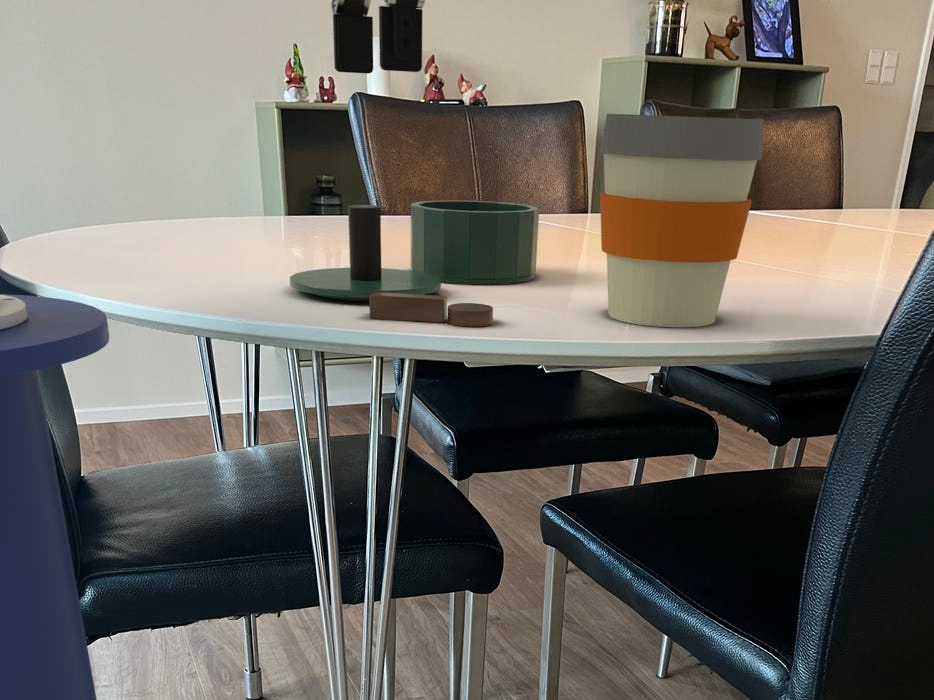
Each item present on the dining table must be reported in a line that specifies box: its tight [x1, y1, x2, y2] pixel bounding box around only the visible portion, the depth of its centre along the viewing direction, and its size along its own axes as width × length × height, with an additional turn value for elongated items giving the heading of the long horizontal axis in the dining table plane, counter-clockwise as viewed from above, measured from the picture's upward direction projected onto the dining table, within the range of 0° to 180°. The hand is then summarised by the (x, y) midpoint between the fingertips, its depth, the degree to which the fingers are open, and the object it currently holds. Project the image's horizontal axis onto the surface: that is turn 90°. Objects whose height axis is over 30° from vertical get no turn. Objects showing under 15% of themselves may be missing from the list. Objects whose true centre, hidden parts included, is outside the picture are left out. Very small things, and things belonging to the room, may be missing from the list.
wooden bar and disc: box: [369, 292, 494, 328], centre depth 79 cm, size 10×4×2 cm, turn 82°
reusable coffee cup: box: [599, 113, 764, 328], centre depth 80 cm, size 13×12×15 cm
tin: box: [410, 199, 540, 286], centre depth 100 cm, size 13×13×6 cm
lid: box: [289, 204, 442, 303], centre depth 89 cm, size 14×14×7 cm
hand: (376, 71), depth 78 cm, fingers open, 9 cm apart
